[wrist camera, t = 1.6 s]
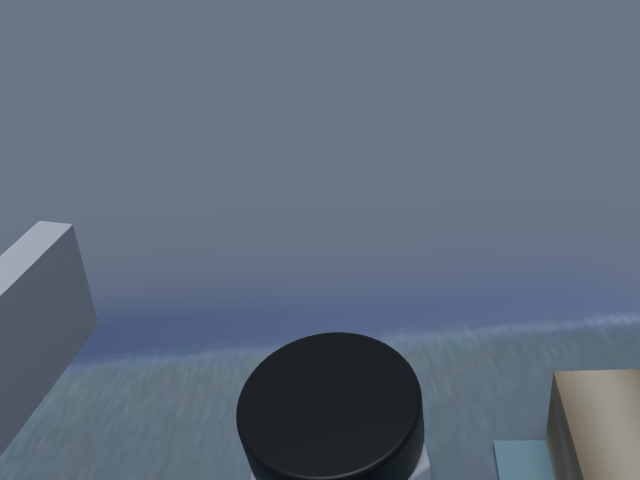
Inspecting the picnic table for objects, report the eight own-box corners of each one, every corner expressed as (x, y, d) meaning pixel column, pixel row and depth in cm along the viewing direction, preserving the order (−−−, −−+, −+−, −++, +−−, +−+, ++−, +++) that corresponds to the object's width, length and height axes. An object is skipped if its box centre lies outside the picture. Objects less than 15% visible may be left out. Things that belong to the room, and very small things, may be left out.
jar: (374, 445, 38) (352, 301, 31) (470, 546, 32) (470, 398, 25) (250, 533, 34) (195, 394, 28) (333, 665, 29) (289, 531, 22)
